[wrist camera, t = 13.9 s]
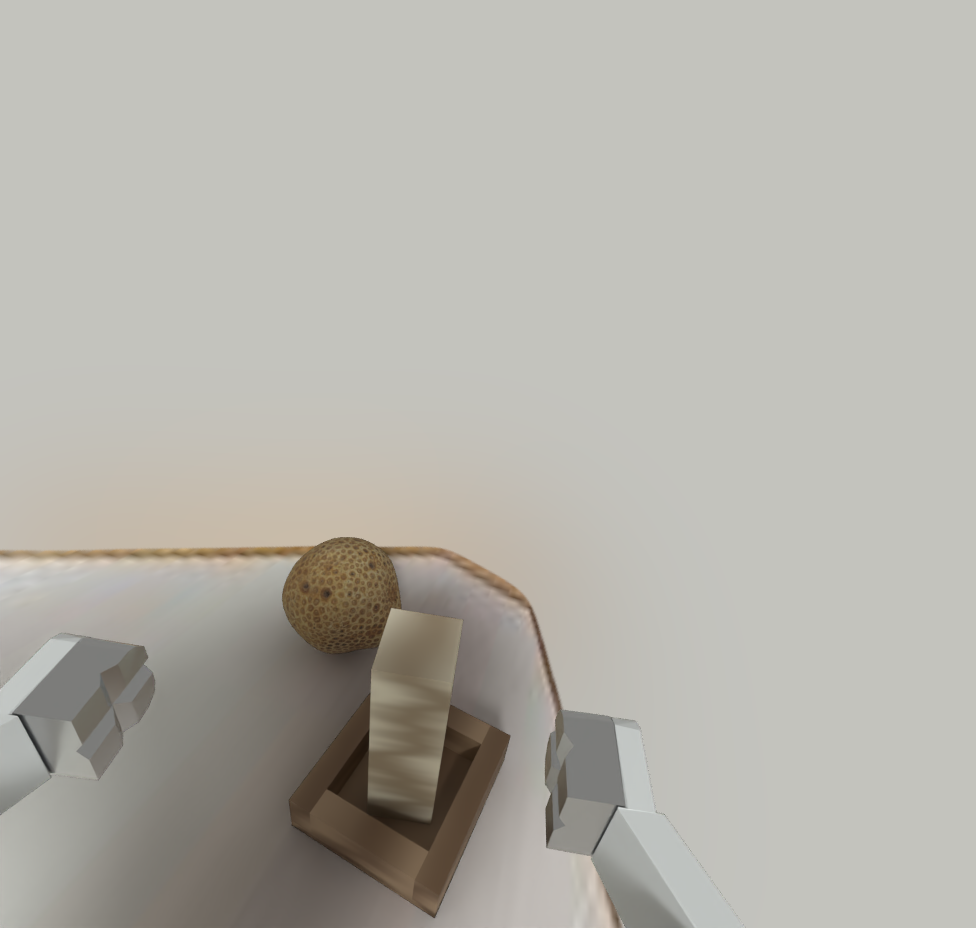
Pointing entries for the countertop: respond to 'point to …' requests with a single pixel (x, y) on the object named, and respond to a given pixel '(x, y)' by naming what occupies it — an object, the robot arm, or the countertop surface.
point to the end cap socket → (391, 842)
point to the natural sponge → (341, 595)
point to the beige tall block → (410, 713)
